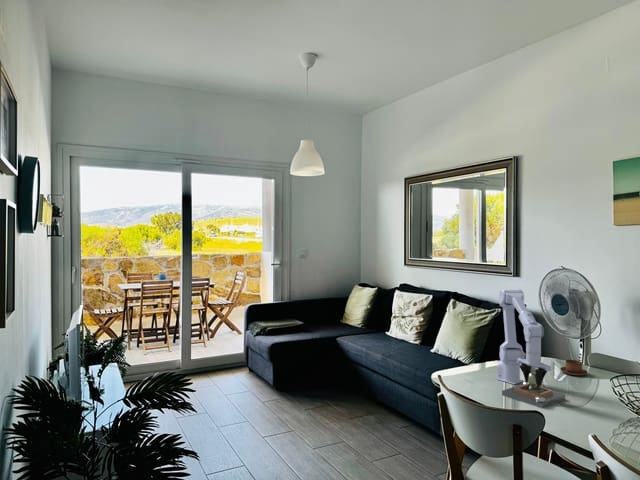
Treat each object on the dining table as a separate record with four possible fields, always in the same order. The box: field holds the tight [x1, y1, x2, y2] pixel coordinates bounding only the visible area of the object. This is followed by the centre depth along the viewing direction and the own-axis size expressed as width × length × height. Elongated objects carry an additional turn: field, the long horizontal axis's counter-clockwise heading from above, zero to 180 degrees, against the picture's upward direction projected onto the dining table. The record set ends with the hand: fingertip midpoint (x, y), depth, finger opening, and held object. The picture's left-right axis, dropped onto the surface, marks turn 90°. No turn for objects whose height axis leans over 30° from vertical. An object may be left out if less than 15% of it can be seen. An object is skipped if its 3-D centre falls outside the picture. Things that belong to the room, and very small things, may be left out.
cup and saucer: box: [560, 359, 588, 377], centre depth 224 cm, size 12×12×6 cm
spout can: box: [528, 371, 541, 390], centre depth 191 cm, size 5×5×8 cm
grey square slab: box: [501, 380, 566, 409], centre depth 190 cm, size 18×18×4 cm
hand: (533, 383), depth 190 cm, fingers closed on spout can, 5 cm apart
